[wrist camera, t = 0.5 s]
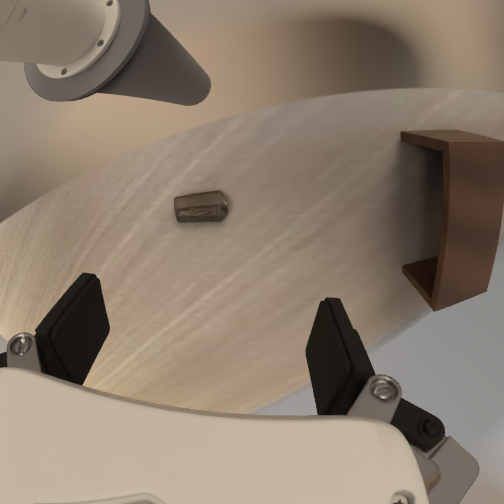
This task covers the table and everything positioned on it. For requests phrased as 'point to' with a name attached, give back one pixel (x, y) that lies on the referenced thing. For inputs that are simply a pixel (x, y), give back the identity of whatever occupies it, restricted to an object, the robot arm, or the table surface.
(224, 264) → the table surface
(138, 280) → the table surface
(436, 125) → the table surface
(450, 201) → the shelf
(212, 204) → the block
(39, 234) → the table surface
